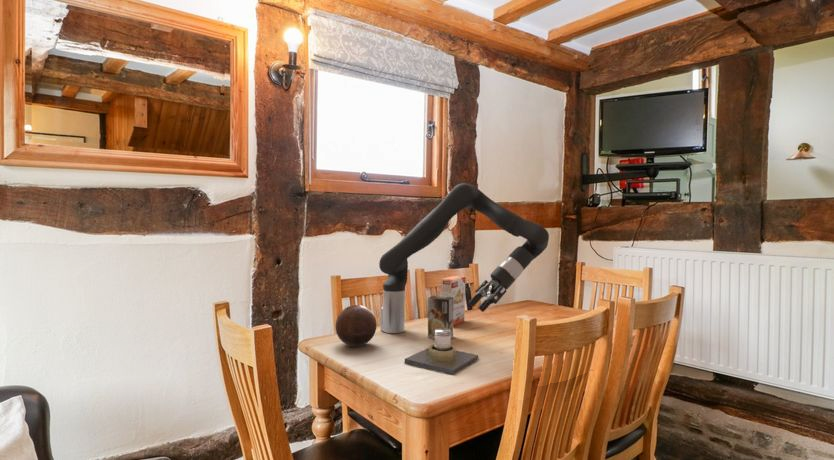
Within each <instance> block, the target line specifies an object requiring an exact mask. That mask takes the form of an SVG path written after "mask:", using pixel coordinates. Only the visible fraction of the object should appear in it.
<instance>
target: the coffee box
mask: <svg viewBox="0 0 834 460" xmlns="http://www.w3.org/2000/svg"><path fill="white" fill-rule="evenodd" d="M427 298H428V299H427V338H428V339H434V340H435V329H438V328H446V329H450V330H451V339H453V338H454V326H453V297H444V296H441V295H431V296H430V297H427Z"/></svg>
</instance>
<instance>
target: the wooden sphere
mask: <svg viewBox="0 0 834 460" xmlns="http://www.w3.org/2000/svg"><path fill="white" fill-rule="evenodd" d="M376 331H377V320H376V317H375V314H374V313H373V311H372V310H370V309H369V308H368V307H366V306H364V305H361V304H351V305H349V306H347V307H345V308H344V309H342V310H341V311H340V312H339V314H338V316H337V317H336V320H335V332H336V333H335V334H336V335H337V337H338V339H339V340H340V341H341V342H342V343H343V344H345V345H347V346H350V347H361V346H364V345H366V344H368V343H369V342H370V341H371V340H372V339H373V337H374V336H375V334H376Z"/></svg>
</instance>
